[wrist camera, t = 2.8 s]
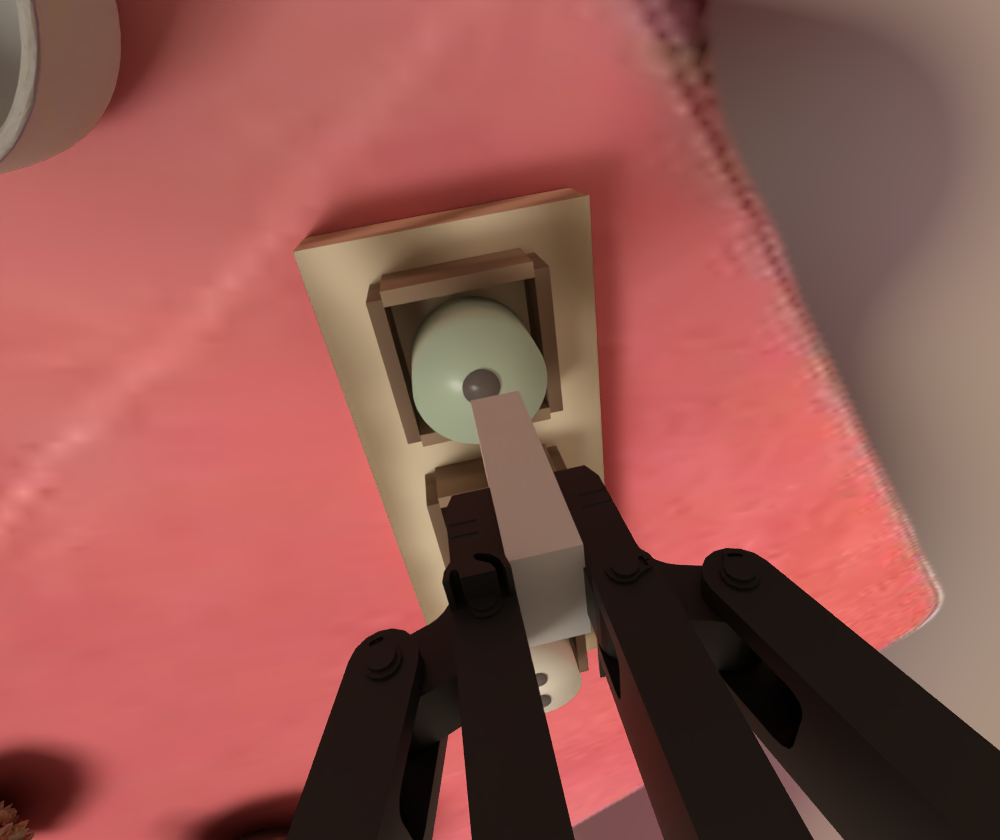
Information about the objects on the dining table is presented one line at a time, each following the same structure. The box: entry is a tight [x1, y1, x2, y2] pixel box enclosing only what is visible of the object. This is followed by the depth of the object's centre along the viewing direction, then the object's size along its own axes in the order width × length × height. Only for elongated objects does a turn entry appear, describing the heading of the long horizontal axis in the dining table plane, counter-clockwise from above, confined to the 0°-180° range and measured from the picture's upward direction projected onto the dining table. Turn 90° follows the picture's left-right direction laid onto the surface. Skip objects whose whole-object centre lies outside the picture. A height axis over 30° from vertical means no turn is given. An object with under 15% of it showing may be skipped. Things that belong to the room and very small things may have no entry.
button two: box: [529, 638, 581, 713], centre depth 30 cm, size 5×5×3 cm
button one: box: [411, 296, 547, 444], centre depth 20 cm, size 5×5×3 cm
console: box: [293, 188, 605, 672], centre depth 28 cm, size 12×30×6 cm, turn 9°
